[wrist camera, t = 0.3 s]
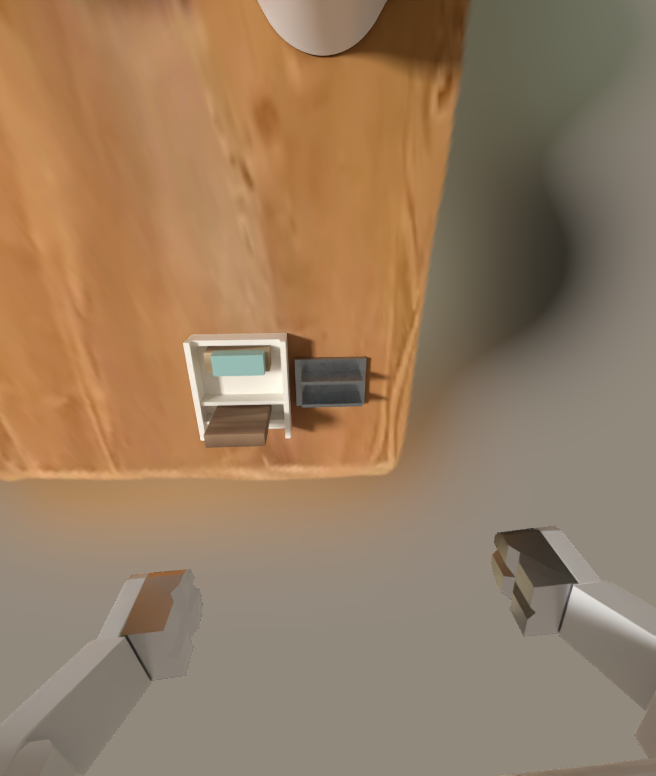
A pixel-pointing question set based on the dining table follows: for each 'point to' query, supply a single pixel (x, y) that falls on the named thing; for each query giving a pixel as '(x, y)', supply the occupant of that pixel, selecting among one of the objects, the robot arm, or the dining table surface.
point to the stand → (330, 381)
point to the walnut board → (238, 426)
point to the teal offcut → (238, 363)
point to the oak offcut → (210, 350)
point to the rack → (240, 379)
